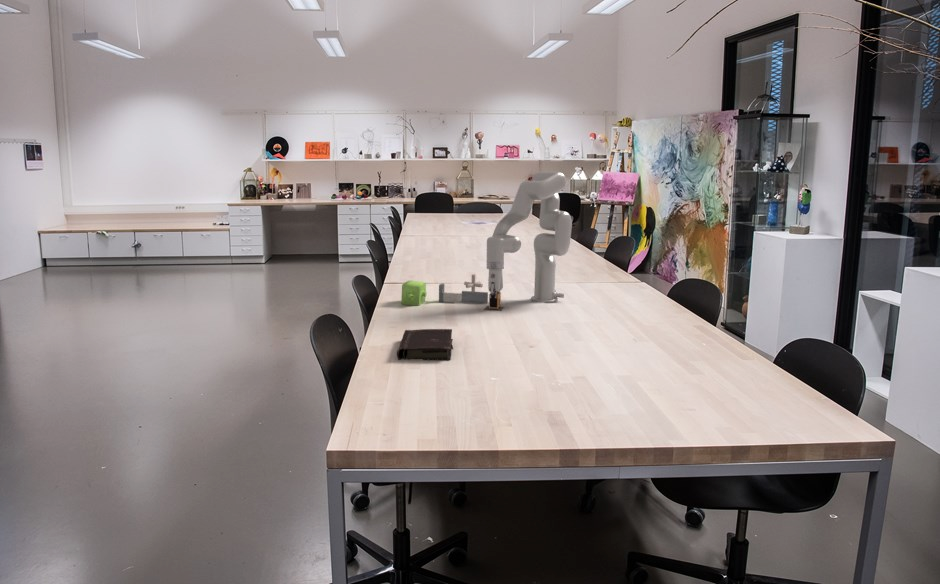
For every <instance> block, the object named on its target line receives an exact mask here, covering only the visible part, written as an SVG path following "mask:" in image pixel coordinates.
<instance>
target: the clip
mask: <svg viewBox="0 0 940 584" xmlns="http://www.w3.org/2000/svg"><path fill="white" fill-rule="evenodd" d="M501 295H502V293H501V291H500V292H497V307H490V293H488V303H489V304H488V306H489V308H492V309H498V308H499V307H502V306H501V305H502V303H501V301H502V300H501V298H502V296H501Z"/></svg>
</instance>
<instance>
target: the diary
mask: <svg viewBox="0 0 940 584" xmlns="http://www.w3.org/2000/svg"><path fill="white" fill-rule="evenodd" d="M452 336H453V329H452V328H426V329H425V328H424V329H421V328H420V329H405V330H404V332H403V335H402V338H401V341H400V343H399V347H398V349H397V351H396V357H397V360H398V361H400V360H401V358H402V357H403V359H404V360H406V359H407V360H422V361H439V362H440V361H444V362H445V361H450V360H452V351H453V350H454V347H453V340H454V339H453V338H452Z"/></svg>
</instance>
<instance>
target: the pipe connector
mask: <svg viewBox="0 0 940 584" xmlns="http://www.w3.org/2000/svg"><path fill="white" fill-rule="evenodd" d="M463 285H464V286H465V288H467V289H469V288H471V291H473V292H476V288H483V283H482V281H476V274H475V273H474V274H473V273H472V274H471V282H470V281H464V282H463Z"/></svg>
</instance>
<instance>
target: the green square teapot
mask: <svg viewBox="0 0 940 584" xmlns="http://www.w3.org/2000/svg"><path fill="white" fill-rule="evenodd" d="M427 294H428V293H427V282H425V281H418V280H407V281H406V282H404V283H403V284H401V301H400V302H401V304H402V305H404V306H405V305H407V306H420V305H422V304H423V303H425V302H426V297H427Z"/></svg>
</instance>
